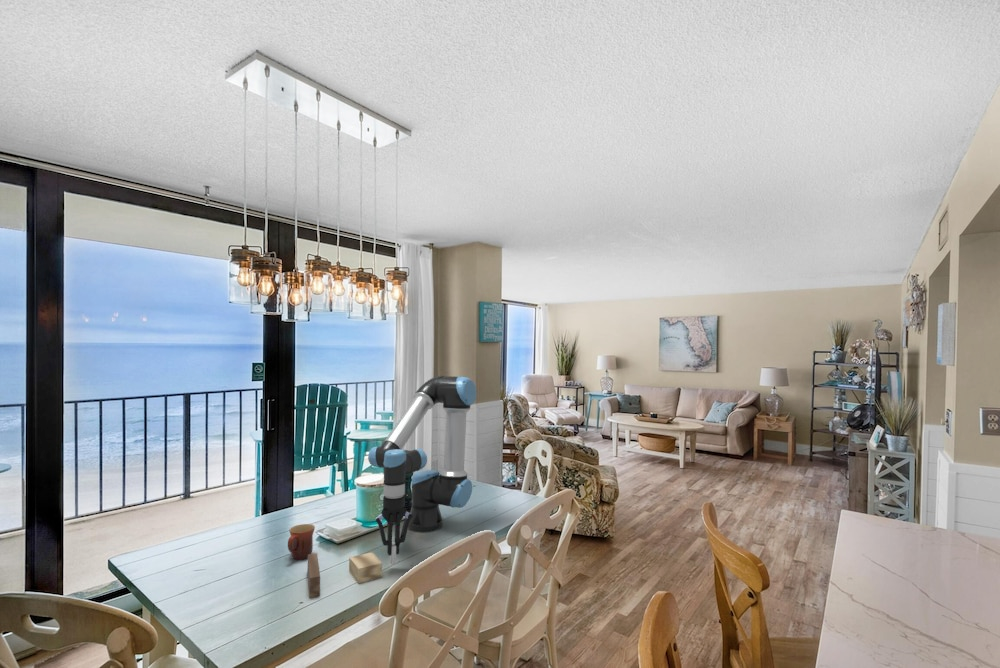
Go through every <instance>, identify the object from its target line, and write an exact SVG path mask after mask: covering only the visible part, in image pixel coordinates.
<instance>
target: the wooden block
mask: <svg viewBox="0 0 1000 668" xmlns="http://www.w3.org/2000/svg"><path fill="white" fill-rule="evenodd" d="M318 556H319V555H318V552H316V553H312V554H308V558H307V584H308V596H309V599H311V598H316V597H320V596H321V574H320V572H321V571H320V566H319V565H320V564H319V557H318Z"/></svg>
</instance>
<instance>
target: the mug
mask: <svg viewBox="0 0 1000 668" xmlns="http://www.w3.org/2000/svg"><path fill="white" fill-rule="evenodd" d="M315 528H316V525H314V524H311V523H305V524H304V523H302V524H298V525H294V526H291V527H290V528H289V535H290V536H289V538H288V540H287V549H288V551H289V553H290V556H291V558H292V559H293V560H297V561H301V560H305V559H308V554H313V548H314V547H313V545H314V542H313V535H314V532H315Z"/></svg>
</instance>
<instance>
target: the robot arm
mask: <svg viewBox="0 0 1000 668" xmlns="http://www.w3.org/2000/svg"><path fill="white" fill-rule="evenodd" d="M476 399H477V388H476V385H475V382H474V381H473V380H472V379H471V378H469V377H466V376H452V375H450V376H448V375H447V376H445V375H438V376H437V375H436V376H435V377H432V378H430V379H428V380H427V381H426V382H424V383H423V384H422V385H421V386H419V388H418V389H417V390H416V392H415V393H414V395H413V400H412V401H411V403H410V404H409V405H408V407H407V408H406V410H405V411H404V413H402V416H401V417H400V419H399V420H398V421H397V423H396V424H395V425H394V427H393V428H392V430H391V431H390V432H389V434H388V435H387V437H386V438H385V440H383V442H382V444H381V445H380V446H379V445H378V446H374V447H371V449H370V450H369V452H368V462H369V464H370V465H371V466H372V467H376V468H378V469H379V468H380V469H382V468H383V492H382V495H383V498H382V504H383V505H382V510H381V513H380V514H379V515H377V516H375V517H374V520H375V521H376V524H377V526H378V528H379V529H378V530H379V534H380V539H381V542H382V545H383V546H387V547H386V549H387V550H386V552H387V555H388V556H389V563H390V565H391V566H396V565H397V555H399V553H400V545H401V544H402V543H405V541H406V538H407V537H406V536H407V533H408V530H410V531H411V532H418V533H428V532H434V531H437V530H439V529H441V528H442V527H443V523H444V522H443V517H442V513H441V509H440V507H439V506H440V505H441V506H445V507H451V508H458V509H461V508H463V507H465V506H466V505H467V503H468V502H469V500H470V498H471V496H472V492H473V483H472V481H471V480H470V479H469V478H468V473H467V472H466V470H465V455H466V432H467V431H466V430H467V413H468V412H469V411H470V410H471V406H472V405H474V403H475V402H476ZM436 404H442V409H444V411H445V412H446V413H445V432H444V451H443V452H444V453H443V454H444V455H443V469H442V470H441V471H439V470H437V469H428V470H427V469H426V470H422V469H423V468H425V467H426V465H427V463H428V456H427V454H426V452H425V451H424V450H422V449H420V448H417V449H415V448H414V449H412V450H407V449H403V448H404V447H405V445H406V443H407V442H408V441H409V440H410V438H411V436H412V435H413V433H414V432H415V431H416V429H417V428H418V426H419V424H420V423H421V422H422V420H423V418H424V417H425V416H426V414H427V413H428V411H429V410H431V409H433V408H434V406H435V405H436ZM420 470H422V471H420ZM412 473H414V474H413V475H412V478H411V509H410V511H407V508H406V495H405V494H406V477H407V475H409V474H412ZM403 518H404V519H403ZM402 519H403V520H404V521H403V524H402V528H401V521H402ZM383 520H385V521H386V522H387V530H386V531H387V533H386V534H387V535H385V530H384V529H385V528H384V526H383V525H384V524H383ZM393 527H394V542H393ZM400 529H401V532H400ZM386 536H387V537H386ZM386 538H387V539H386Z"/></svg>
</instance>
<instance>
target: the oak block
mask: <svg viewBox="0 0 1000 668" xmlns="http://www.w3.org/2000/svg"><path fill="white" fill-rule="evenodd" d="M348 561H349V562H348V565H349V566H348V572H349V574H350V575H351V576H352V577H353V579H354V580H355V582H357V584H362V583H365V582H369V581H373V580H377V579H380V577H381V578H382V577H383V573H382V572H383V562H382V561H381V560H380V559H379V558H378V557H377V555H375V553H374V552H368V553H362V554H359V555H354V556H349V557H348Z"/></svg>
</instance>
